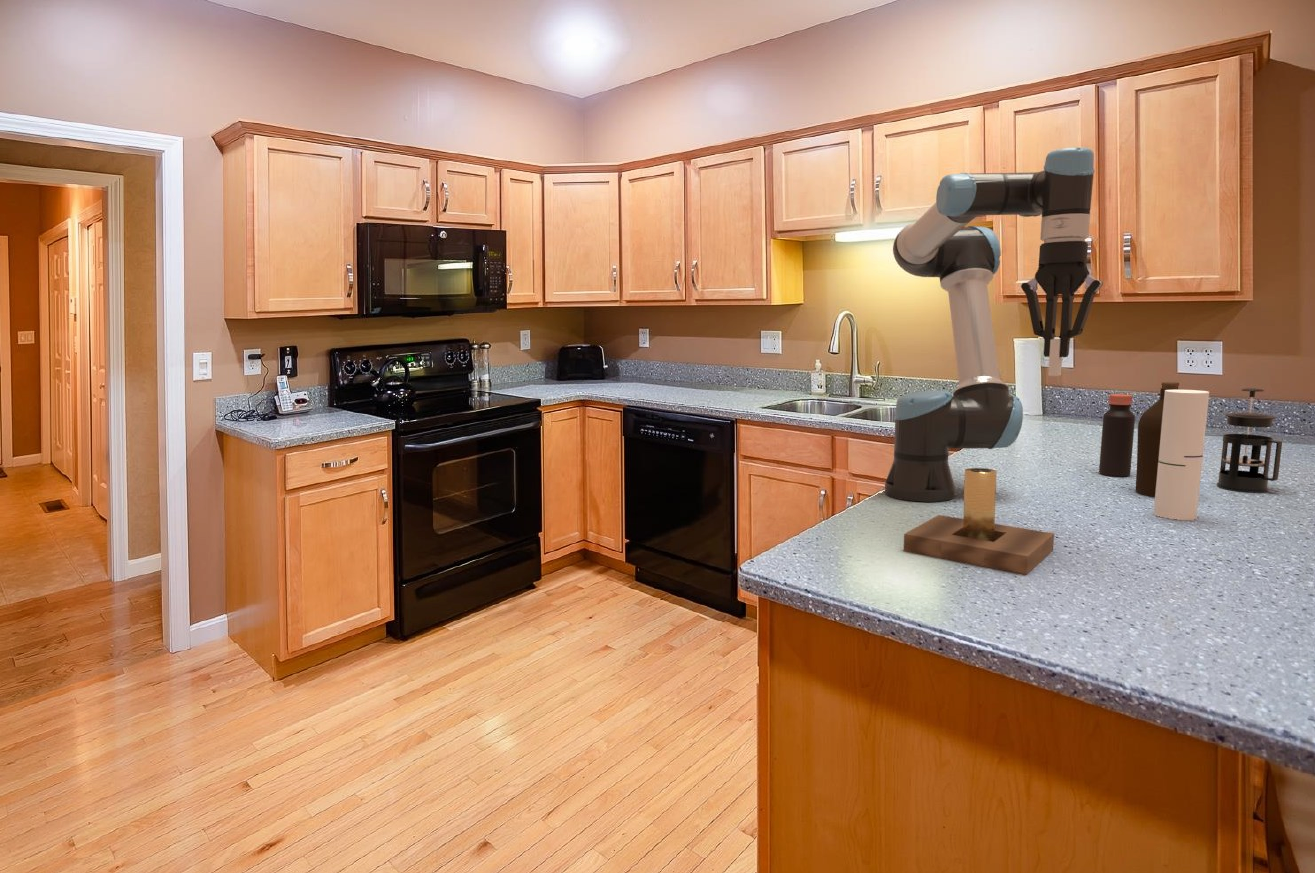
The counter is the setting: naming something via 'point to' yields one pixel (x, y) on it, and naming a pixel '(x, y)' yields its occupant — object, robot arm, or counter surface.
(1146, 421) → the olive oil
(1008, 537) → the walnut jig plate
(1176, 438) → the cylindrical container
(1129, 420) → the bottle
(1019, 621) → the counter surface
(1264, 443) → the french press
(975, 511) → the brass bushing
